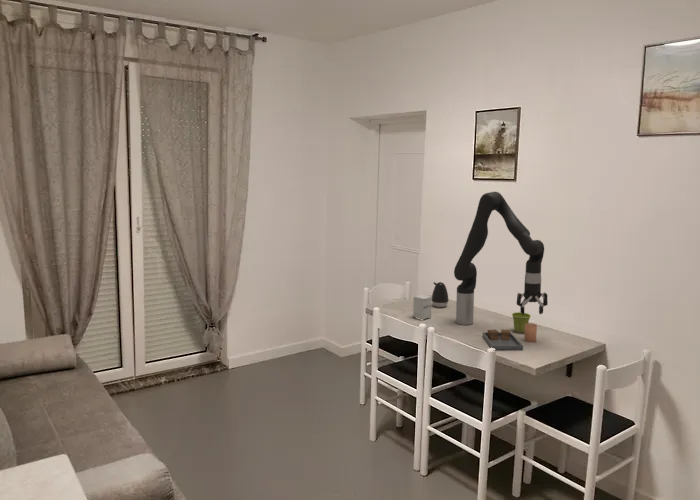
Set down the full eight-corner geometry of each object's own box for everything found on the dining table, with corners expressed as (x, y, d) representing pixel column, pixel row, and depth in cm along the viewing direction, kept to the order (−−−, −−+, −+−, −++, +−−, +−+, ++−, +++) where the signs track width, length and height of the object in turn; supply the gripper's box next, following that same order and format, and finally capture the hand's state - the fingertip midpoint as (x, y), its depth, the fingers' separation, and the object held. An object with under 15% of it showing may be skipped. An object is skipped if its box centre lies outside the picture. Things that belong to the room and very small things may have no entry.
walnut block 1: (487, 337, 262) (487, 329, 261) (495, 337, 263) (495, 329, 262) (490, 340, 258) (491, 332, 257) (498, 339, 259) (498, 331, 258)
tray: (482, 336, 265) (482, 332, 265) (510, 336, 265) (510, 332, 265) (492, 350, 246) (493, 345, 245) (522, 350, 246) (523, 345, 245)
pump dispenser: (438, 303, 330) (439, 279, 327) (451, 306, 322) (452, 282, 320) (427, 306, 323) (428, 282, 321) (440, 309, 316) (441, 284, 313)
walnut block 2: (500, 337, 263) (501, 329, 262) (509, 337, 262) (509, 329, 261) (501, 339, 259) (501, 331, 258) (509, 340, 258) (509, 332, 257)
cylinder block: (522, 338, 262) (523, 323, 261) (533, 338, 262) (534, 323, 261) (526, 342, 257) (527, 326, 255) (537, 342, 257) (538, 326, 255)
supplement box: (422, 320, 293) (422, 298, 291) (412, 318, 299) (413, 296, 297) (431, 318, 298) (431, 296, 296) (421, 315, 303) (422, 294, 301)
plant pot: (531, 329, 276) (532, 313, 274) (527, 334, 268) (528, 318, 266) (513, 327, 280) (514, 311, 279) (509, 332, 272) (509, 315, 271)
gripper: (544, 279, 258) (543, 311, 261) (515, 280, 258) (514, 312, 261) (550, 282, 251) (549, 316, 253) (520, 283, 251) (519, 316, 253)
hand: (531, 314), depth 257 cm, fingers open, 8 cm apart
